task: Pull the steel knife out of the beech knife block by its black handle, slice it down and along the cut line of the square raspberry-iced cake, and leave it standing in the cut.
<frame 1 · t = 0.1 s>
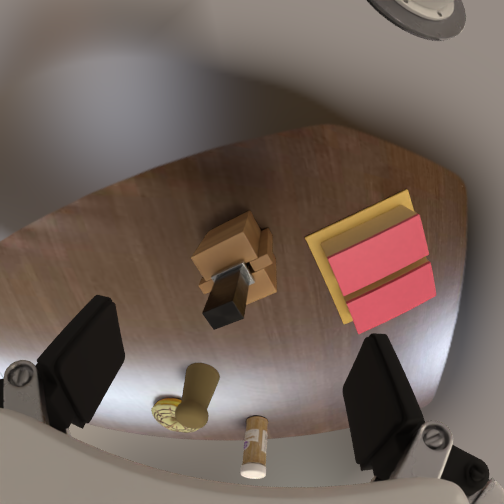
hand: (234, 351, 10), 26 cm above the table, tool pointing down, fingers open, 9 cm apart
knife: (234, 272, 29), in the knife block
decorated donut: (178, 408, 51), on the table
cake: (375, 261, 35), on the table
olive brown pawn: (203, 373, 46), on the table
knife block: (242, 245, 36), on the table
sprinkles bottle: (257, 420, 50), on the table
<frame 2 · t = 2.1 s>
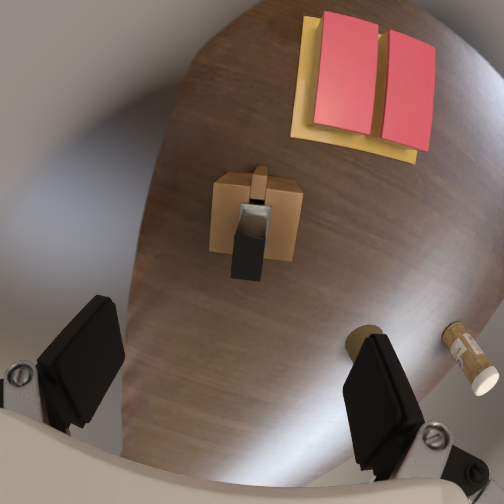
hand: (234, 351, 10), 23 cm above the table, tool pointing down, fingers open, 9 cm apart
knife: (254, 221, 24), in the knife block
cake: (364, 86, 25), on the table
olive brown pawn: (364, 340, 38), on the table
knife block: (258, 201, 31), on the table
sprinkles bottle: (451, 331, 37), on the table
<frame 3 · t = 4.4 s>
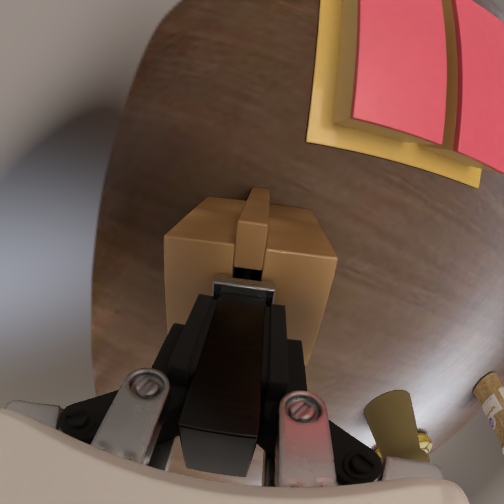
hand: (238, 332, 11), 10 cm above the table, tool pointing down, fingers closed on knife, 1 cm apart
knife: (243, 301, 13), in the knife block, touching gripper
decorated donut: (396, 445, 31), on the table
cake: (415, 70, 14), on the table
olive brown pawn: (387, 404, 27), on the table
knife block: (254, 243, 20), on the table
sprinkles bottle: (484, 381, 26), on the table
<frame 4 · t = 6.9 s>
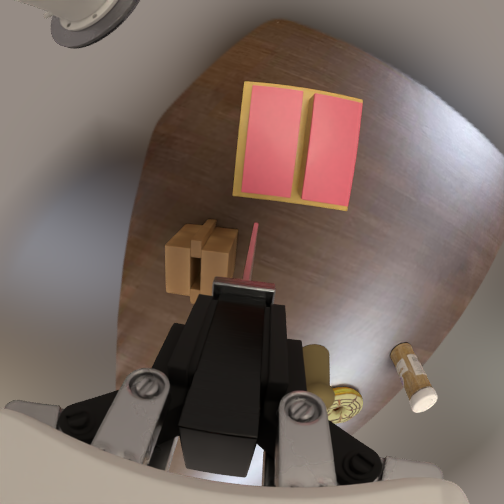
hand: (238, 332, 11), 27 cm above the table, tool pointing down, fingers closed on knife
knife: (243, 301, 13), point 25 cm above the table, touching gripper
decorated donut: (335, 399, 50), on the table
cake: (298, 144, 33), on the table
olive brown pawn: (312, 356, 45), on the table
knife block: (210, 246, 39), on the table
sprinkles bottle: (400, 350, 44), on the table
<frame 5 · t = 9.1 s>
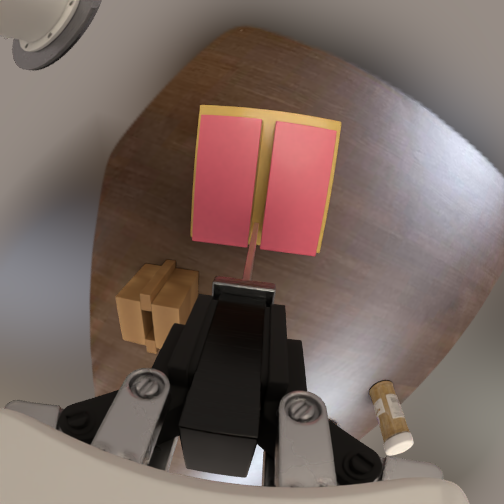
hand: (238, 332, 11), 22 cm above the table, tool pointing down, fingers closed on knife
knife: (243, 301, 13), point 19 cm above the table, touching gripper
cake: (262, 178, 29), on the table
knife block: (171, 287, 35), on the table
sprinkles bottle: (380, 387, 41), on the table
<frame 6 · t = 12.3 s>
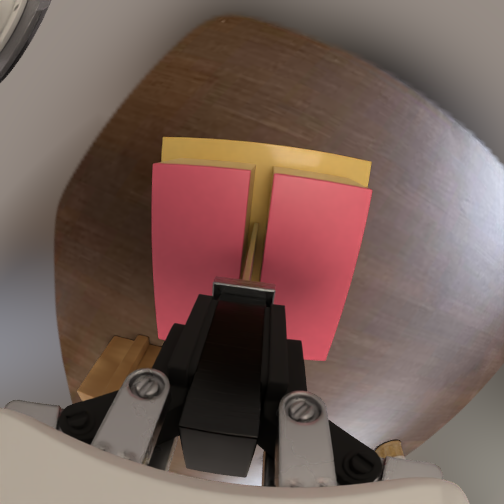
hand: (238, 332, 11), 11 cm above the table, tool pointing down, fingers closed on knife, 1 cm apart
knife: (243, 301, 13), point 9 cm above the table, touching gripper
cake: (255, 244, 21), on the table
knife block: (147, 362, 27), on the table
sprinkles bottle: (387, 445, 32), on the table
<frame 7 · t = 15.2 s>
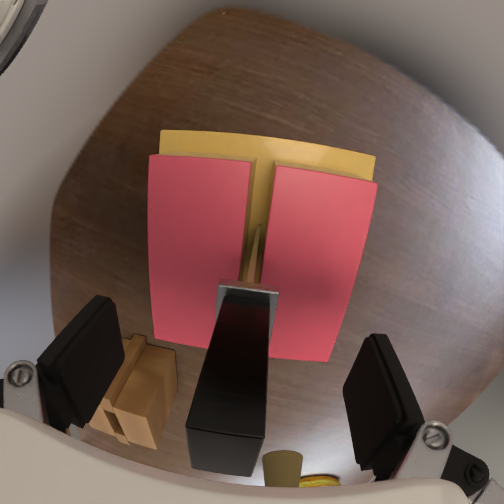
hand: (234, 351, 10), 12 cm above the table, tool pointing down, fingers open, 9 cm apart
knife: (247, 303, 13), resting on cake
decorated donut: (312, 482, 37), on the table
cake: (255, 241, 20), on the table
olive brown pawn: (282, 457, 33), on the table
knife block: (144, 363, 26), on the table
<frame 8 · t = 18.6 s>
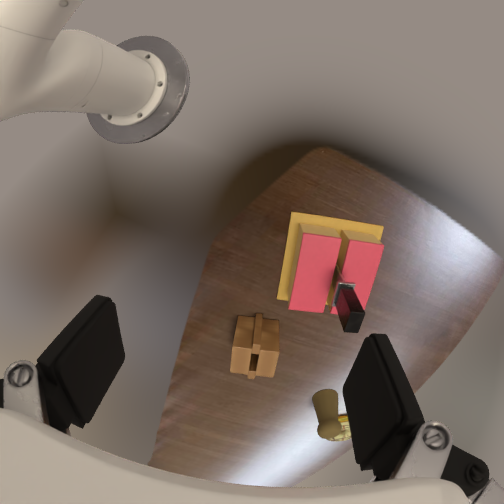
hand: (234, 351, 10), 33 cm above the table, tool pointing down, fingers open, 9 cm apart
knife: (340, 289, 36), resting on cake
decorated donut: (340, 423, 61), on the table
cake: (329, 263, 44), on the table
olive brown pawn: (325, 396, 56), on the table
knife block: (256, 330, 50), on the table
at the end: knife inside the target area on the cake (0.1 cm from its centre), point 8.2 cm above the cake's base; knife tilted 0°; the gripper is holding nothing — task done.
